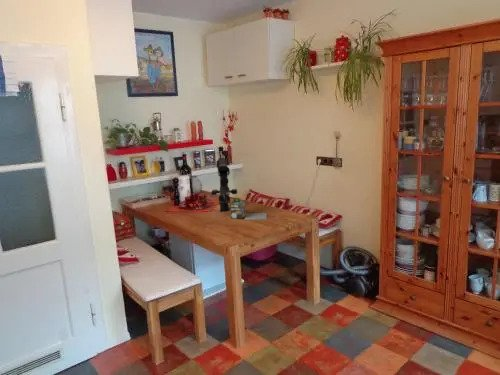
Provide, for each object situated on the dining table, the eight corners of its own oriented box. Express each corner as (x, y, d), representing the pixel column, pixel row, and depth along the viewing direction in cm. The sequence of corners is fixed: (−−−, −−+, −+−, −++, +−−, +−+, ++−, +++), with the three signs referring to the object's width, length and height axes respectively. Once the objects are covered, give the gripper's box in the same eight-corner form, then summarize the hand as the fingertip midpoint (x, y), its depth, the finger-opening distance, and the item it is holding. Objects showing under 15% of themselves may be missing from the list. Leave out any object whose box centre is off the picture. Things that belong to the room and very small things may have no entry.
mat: (244, 220, 267) (244, 219, 267) (245, 214, 282) (245, 213, 282) (266, 219, 266) (266, 219, 266) (266, 213, 281) (266, 213, 281)
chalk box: (246, 215, 278) (244, 196, 275) (242, 218, 269) (240, 199, 266) (234, 215, 281) (233, 196, 278) (230, 218, 272) (228, 199, 269)
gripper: (209, 185, 263) (210, 206, 266) (235, 184, 262) (236, 205, 265) (212, 182, 274) (213, 202, 277) (236, 181, 273) (237, 201, 276)
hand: (225, 203), depth 273 cm, fingers closed
